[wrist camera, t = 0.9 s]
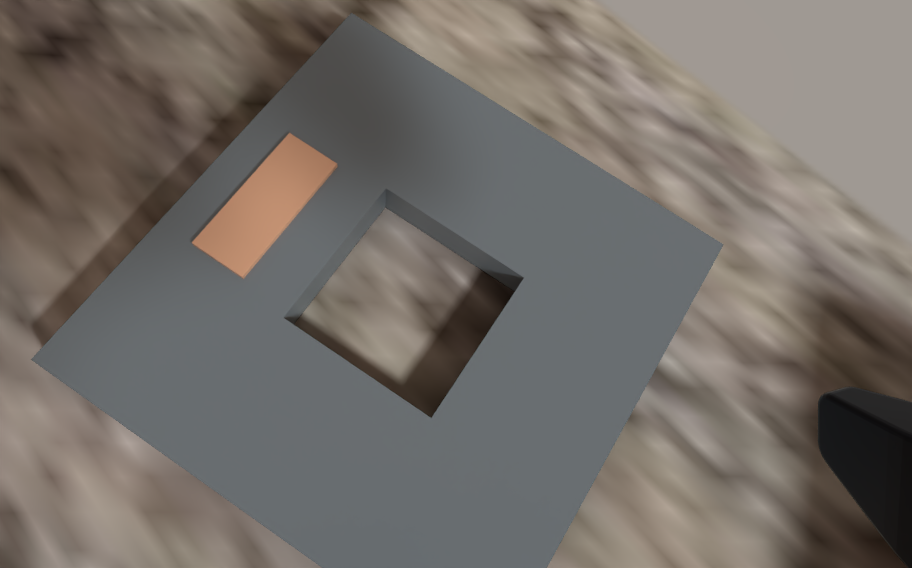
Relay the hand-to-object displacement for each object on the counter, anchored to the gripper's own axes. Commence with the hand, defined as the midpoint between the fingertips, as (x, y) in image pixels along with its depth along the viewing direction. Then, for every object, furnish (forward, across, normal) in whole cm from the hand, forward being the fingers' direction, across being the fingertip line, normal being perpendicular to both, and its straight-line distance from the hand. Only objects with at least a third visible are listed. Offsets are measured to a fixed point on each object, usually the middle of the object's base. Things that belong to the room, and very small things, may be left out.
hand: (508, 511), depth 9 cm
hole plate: (+15, +1, +3) cm, 15 cm away
